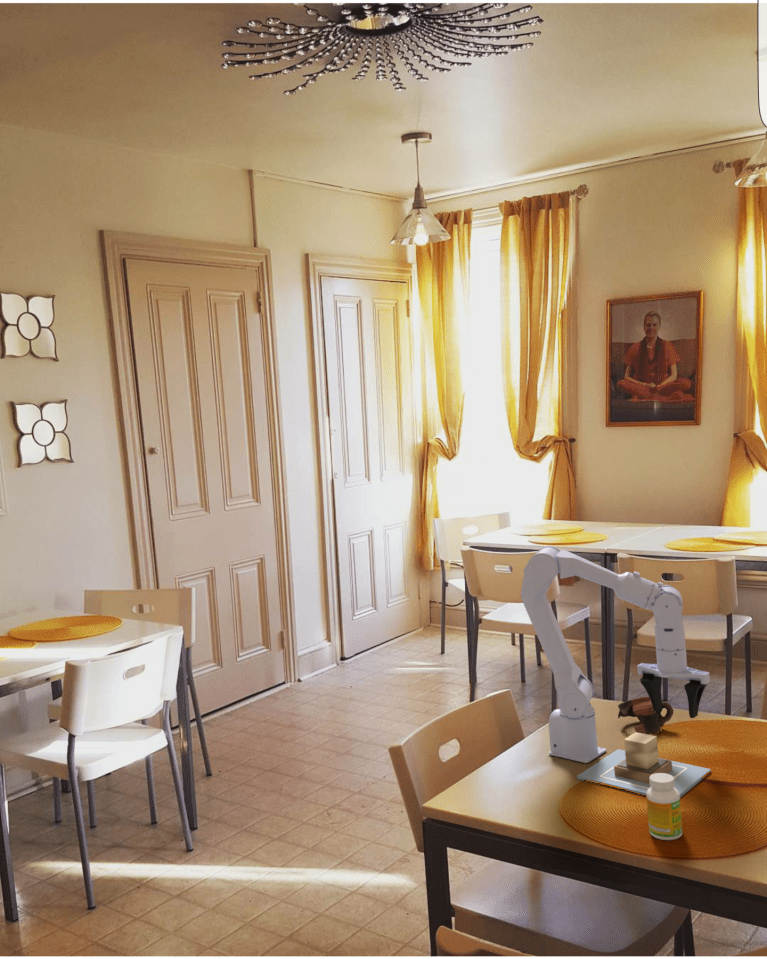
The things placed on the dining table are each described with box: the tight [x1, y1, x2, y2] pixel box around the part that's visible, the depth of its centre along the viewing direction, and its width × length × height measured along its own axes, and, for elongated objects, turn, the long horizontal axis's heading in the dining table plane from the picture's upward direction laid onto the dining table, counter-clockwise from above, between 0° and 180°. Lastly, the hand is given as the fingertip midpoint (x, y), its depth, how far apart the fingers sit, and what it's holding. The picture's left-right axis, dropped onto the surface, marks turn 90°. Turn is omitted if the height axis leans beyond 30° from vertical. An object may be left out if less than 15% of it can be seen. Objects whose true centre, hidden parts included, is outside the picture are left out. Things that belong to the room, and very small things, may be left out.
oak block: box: [624, 731, 659, 769], centre depth 169 cm, size 4×4×5 cm
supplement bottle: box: [646, 773, 683, 841], centre depth 146 cm, size 5×5×10 cm
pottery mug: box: [617, 696, 675, 735], centre depth 194 cm, size 12×10×8 cm
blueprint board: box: [576, 748, 712, 798], centre depth 170 cm, size 20×16×3 cm
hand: (675, 713), depth 176 cm, fingers open, 7 cm apart
